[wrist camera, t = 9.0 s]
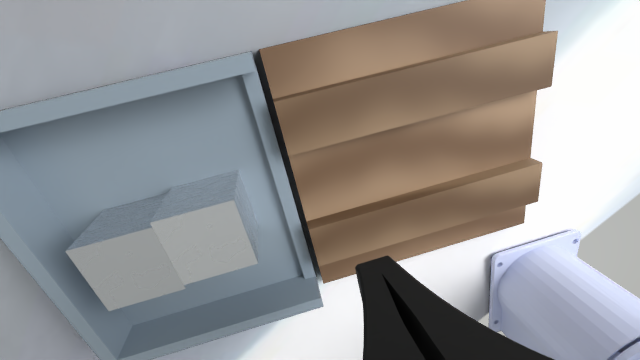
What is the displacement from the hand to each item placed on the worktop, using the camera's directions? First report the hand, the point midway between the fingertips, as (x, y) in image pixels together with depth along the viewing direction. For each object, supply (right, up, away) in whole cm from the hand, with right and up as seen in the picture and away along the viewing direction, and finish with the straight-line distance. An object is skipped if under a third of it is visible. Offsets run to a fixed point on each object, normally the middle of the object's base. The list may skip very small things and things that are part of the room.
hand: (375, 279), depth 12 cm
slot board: (+4, +6, +8) cm, 11 cm away
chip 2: (-9, +2, +7) cm, 11 cm away
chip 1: (-12, +1, +7) cm, 14 cm away
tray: (-11, +2, +7) cm, 13 cm away
